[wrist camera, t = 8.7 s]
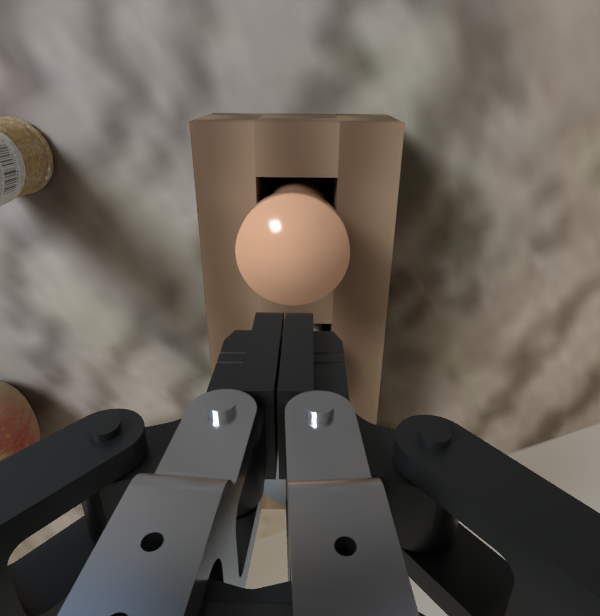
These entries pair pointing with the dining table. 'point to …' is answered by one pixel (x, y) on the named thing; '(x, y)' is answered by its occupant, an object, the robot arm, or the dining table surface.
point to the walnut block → (345, 200)
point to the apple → (16, 422)
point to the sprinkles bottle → (22, 159)
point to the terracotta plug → (293, 245)
